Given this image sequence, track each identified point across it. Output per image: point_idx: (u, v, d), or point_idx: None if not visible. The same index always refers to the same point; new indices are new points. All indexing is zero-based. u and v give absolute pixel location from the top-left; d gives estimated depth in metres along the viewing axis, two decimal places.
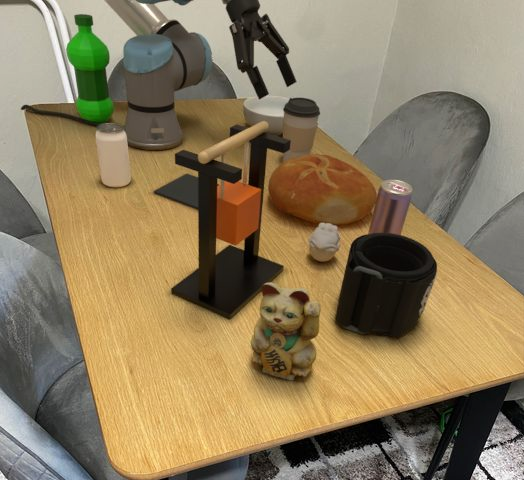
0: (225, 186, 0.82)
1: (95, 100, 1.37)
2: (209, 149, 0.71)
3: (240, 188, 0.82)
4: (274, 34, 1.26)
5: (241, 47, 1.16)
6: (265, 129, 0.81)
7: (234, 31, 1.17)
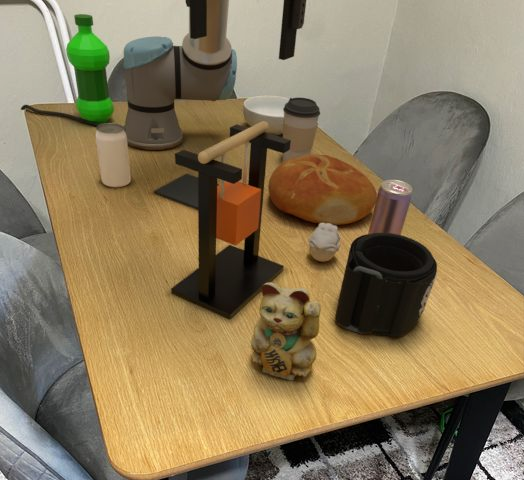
0: (225, 186, 0.82)
1: (95, 100, 1.37)
2: (209, 149, 0.71)
3: (240, 188, 0.82)
4: None
5: None
6: (265, 129, 0.81)
7: None
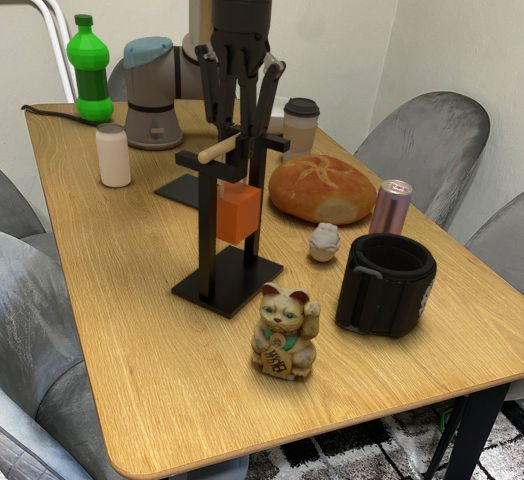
0: (225, 186, 0.82)
1: (95, 100, 1.37)
2: (209, 149, 0.71)
3: (240, 188, 0.82)
4: None
5: None
6: None
7: None
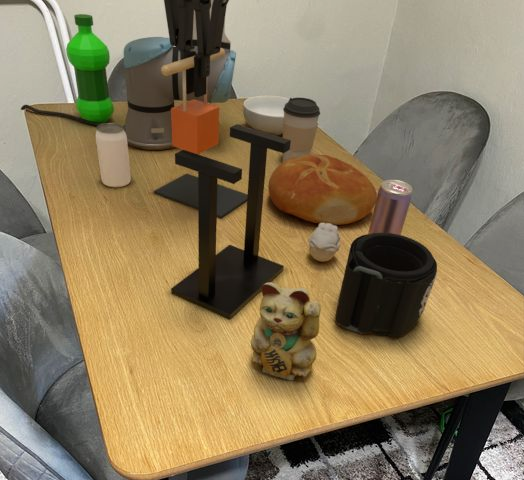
0: (189, 104, 0.98)
1: (95, 100, 1.37)
2: (170, 64, 0.86)
3: (201, 105, 0.98)
4: None
5: None
6: (222, 54, 0.96)
7: None
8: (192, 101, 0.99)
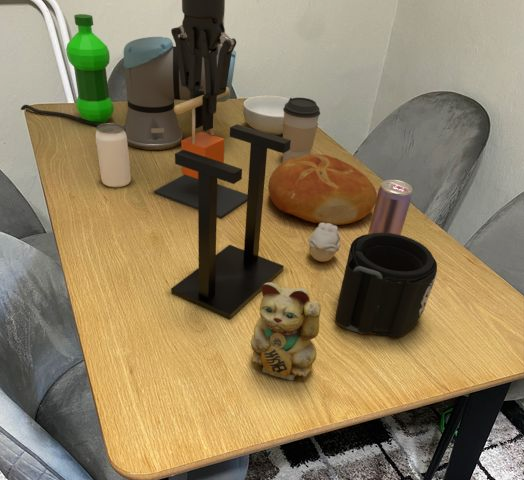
0: (197, 136, 1.09)
1: (95, 100, 1.37)
2: (182, 103, 0.97)
3: (208, 137, 1.09)
4: None
5: None
6: (227, 92, 1.07)
7: None
8: (200, 133, 1.10)
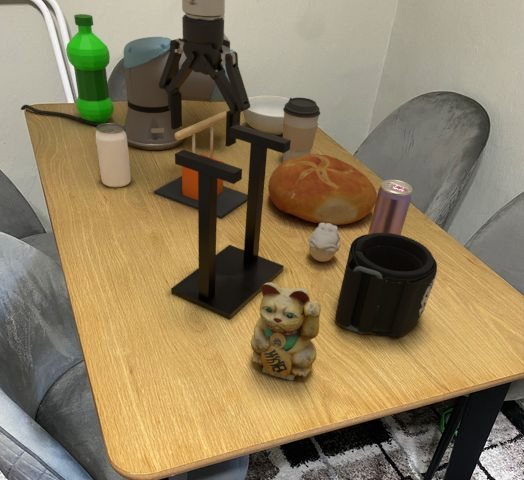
0: None
1: (95, 100, 1.37)
2: (182, 130, 1.01)
3: None
4: None
5: None
6: None
7: None
8: None
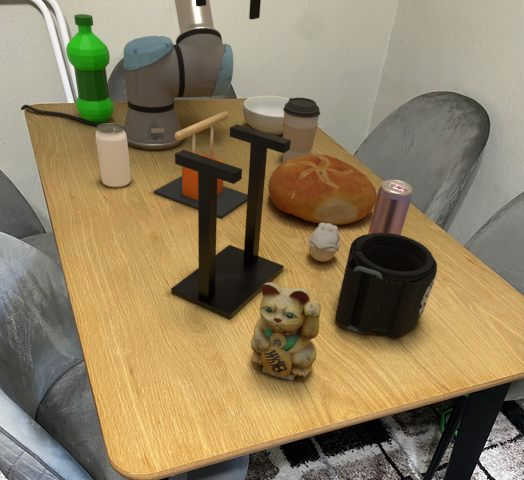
0: None
1: (95, 100, 1.37)
2: (182, 130, 1.01)
3: None
4: None
5: None
6: (226, 117, 1.10)
7: None
8: None
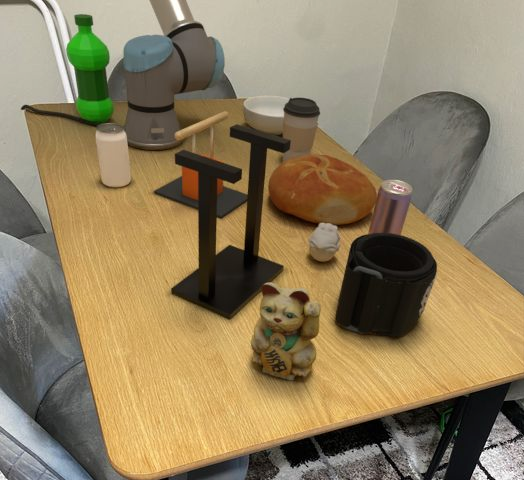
0: None
1: (95, 100, 1.37)
2: (182, 130, 1.01)
3: None
4: None
5: None
6: (226, 117, 1.10)
7: None
8: None
